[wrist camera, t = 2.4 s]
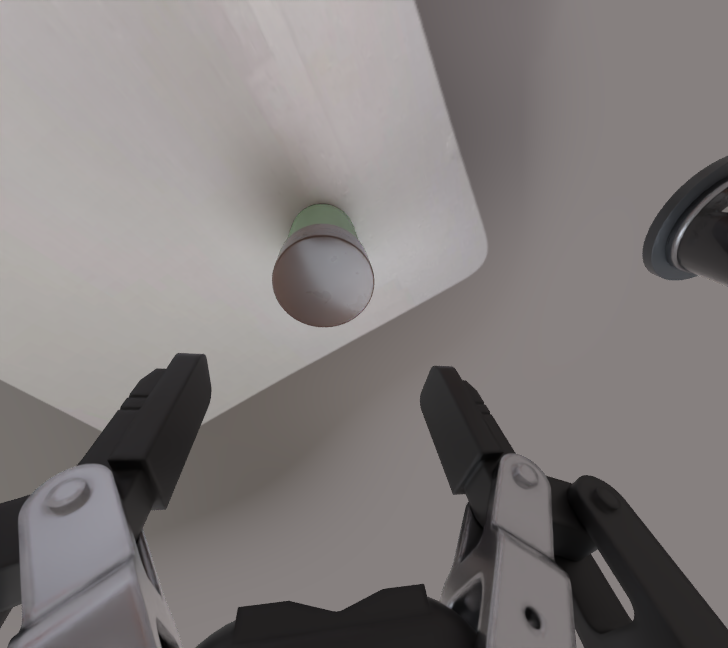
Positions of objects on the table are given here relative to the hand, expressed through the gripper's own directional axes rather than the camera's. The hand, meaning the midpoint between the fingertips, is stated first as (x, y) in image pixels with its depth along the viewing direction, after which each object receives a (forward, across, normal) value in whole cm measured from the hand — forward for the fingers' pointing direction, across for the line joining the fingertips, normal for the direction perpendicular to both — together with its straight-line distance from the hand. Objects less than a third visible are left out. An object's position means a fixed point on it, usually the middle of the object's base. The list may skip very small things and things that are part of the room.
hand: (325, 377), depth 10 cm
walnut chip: (+10, 0, 0) cm, 10 cm away
